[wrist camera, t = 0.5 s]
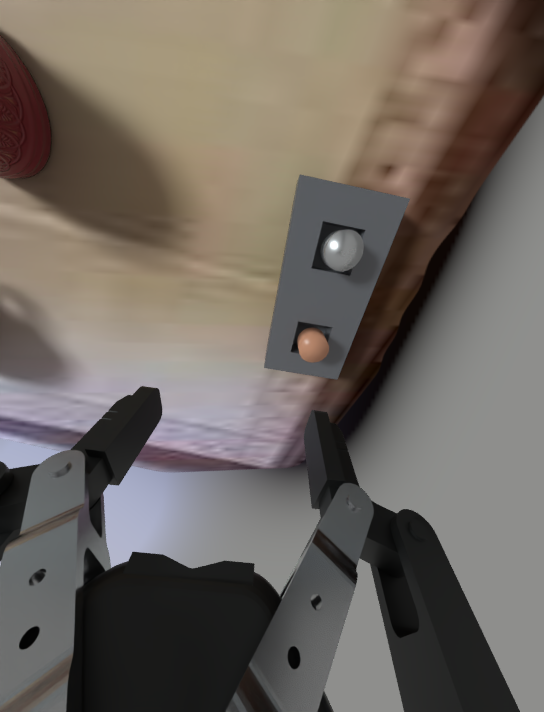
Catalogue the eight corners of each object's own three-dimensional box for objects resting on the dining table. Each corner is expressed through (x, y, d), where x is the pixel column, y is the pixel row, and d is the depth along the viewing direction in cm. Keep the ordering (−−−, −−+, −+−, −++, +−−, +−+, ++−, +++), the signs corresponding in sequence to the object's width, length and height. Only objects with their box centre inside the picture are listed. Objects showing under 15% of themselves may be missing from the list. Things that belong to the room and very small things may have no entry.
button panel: (296, 183, 25) (299, 174, 22) (392, 204, 26) (409, 198, 22) (265, 355, 37) (264, 367, 33) (331, 366, 38) (337, 379, 34)
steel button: (326, 227, 24) (332, 225, 21) (359, 234, 24) (369, 233, 21) (316, 264, 26) (320, 267, 23) (347, 270, 26) (355, 274, 23)
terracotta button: (300, 325, 30) (303, 333, 27) (328, 330, 30) (333, 338, 27) (294, 349, 32) (296, 360, 29) (320, 354, 32) (324, 364, 29)
